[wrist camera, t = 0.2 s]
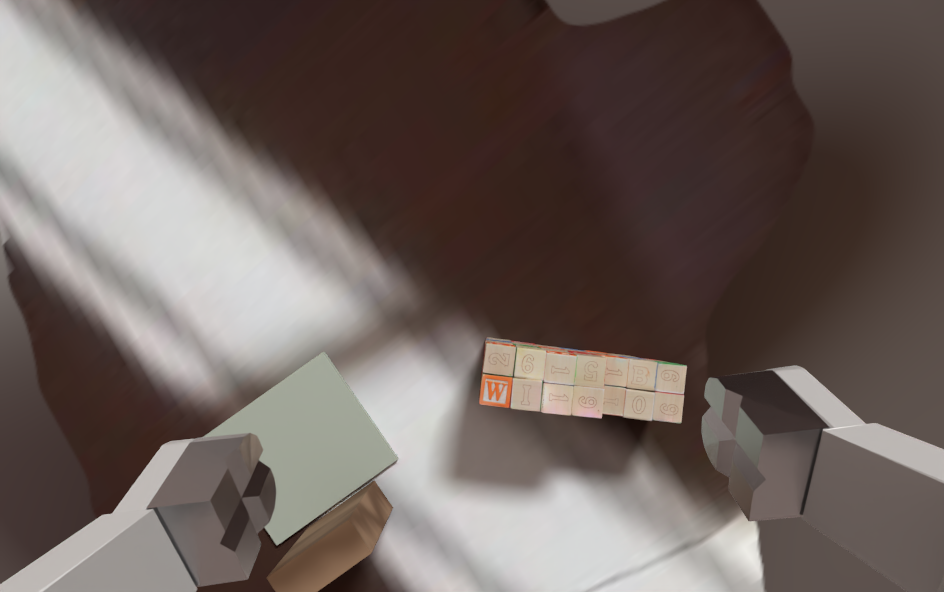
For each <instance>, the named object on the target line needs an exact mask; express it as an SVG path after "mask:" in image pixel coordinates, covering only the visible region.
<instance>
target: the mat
mask: <svg viewBox="0 0 944 592" xmlns="http://www.w3.org/2000/svg"><path fill="white" fill-rule="evenodd" d="M244 433H252V434H254V435H257V436H258V439H259V441H260V443H261V445H262V448H263V452H262V454H261V456H260V458H259V461H261V462H262V463H264V464H265V465H267V466H268V467H269V468H271V471H272V473H273V476H274V479H275V485H276V501H275V509H274V512H273V514H272V517H271V520H270V522H269V523H268V524H267V525H266V526H265V529H266V530H267V532H268V533H269V535H270V536H271V538H272V539H273V541H274V542H275V544H276V545H278V544H280V543H281V542H283V541H284V540H286V539H287V538H288V537H290V536H291V535H293V534H294V533H295V532H297V531H298V530H300V529H301V528H302V527H304V526H305V525H307V524H308V523H309V522H311V521H312V520H314V519H315V518H316V517H318V516H319V515H321V514H322V513H323V512H325V511H326V510H328V509H329V508H330V507H332V506H333V505H335V504H336V503H337V502H339V501H340V500H342V499H343V498H344V497H346V496H347V495H349V494H350V493H351V492H353V491H354V490H356V489H357V488H359V487H360V486H361V485H363V484H364V483H366V482H367V481H368V480H370V479H371V478H373V477H374V476H375V475H377V474H378V473H380V472H381V471H382V470H384V469H385V468H387V467H388V466H389V465H391V464H392V463H394V462H395V461H396V460H398V457H397V455H396V454H395V453H394V451H393V450H392V448H391V447H390V445H389V444H388V442H387V441H386V440H385V438H384V437H383V435H382V434H381V432H380V431H379V429H378V428H377V427H376V425H375V424H374V422H373V421H372V419H371V418H370V416H369V415H368V414H367V412H366V411H365V409H364V408H363V406H362V405H361V403H360V402H359V401H358V399H357V398H356V396H355V395H354V393H353V392H352V390H351V389H350V388H349V386H348V385H347V383H346V382H345V380H344V379H343V377H342V376H341V375H340V373H339V372H338V370H337V369H336V367H335V366H334V364H333V363H332V362H331V360H330V359H329V357H328V356H327V354H326V353H325V352H322V353H321V354H319V355H318V356H317V357H315V358H314V359H312V360H311V361H310V362H308V363H307V364H305V365H304V366H302V367H301V368H300V369H298V370H297V371H295V372H294V373H293V374H291V375H290V376H288V377H287V378H286V379H284V380H283V381H281V382H280V383H279V384H277V385H276V386H274V387H273V388H272V389H270V390H269V391H267V392H266V393H265V394H263V395H262V396H260V397H259V398H257V399H256V400H255V401H253V402H252V403H250V404H249V405H248V406H246V407H245V408H243V409H242V410H241V411H239V412H238V413H236V414H235V415H234V416H232V417H231V418H229V419H228V420H227V421H225V422H224V423H222V424H221V425H220V426H218V427H217V428H215V429H214V430H212V431H211V432H210V433H208V434H207V435H205V436H204V437H213V436H224V435H234V434H244Z"/></svg>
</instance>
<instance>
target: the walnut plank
mask: <svg viewBox="0 0 944 592" xmlns="http://www.w3.org/2000/svg"><path fill="white" fill-rule="evenodd" d="M392 508H393V507H392V505H391V504H390V503H389V501H388V500H387V498H386V497H385V495H384V494H383V492H382V491H381V489H380V488H379V487H378V485H377V484H376V482H375V481H373V482H371V483H370V484H369V485H367V486H366V487H364V488H363V489H362V490H360V491H359V492H357V493H356V494H355V495H353V496H352V497H350V498H349V499H348V500H346V501H345V502H343V503H342V504H340V505H339V506H338V507H336V508H335V509H333V510H332V511H331V512H329V513H328V514H326V515H325V516H324V517H322V518H321V519H319V520H318V521H317V522H315V523H314V524H312V525H311V526H310V527H308V528H307V529H306V531H305V532H304V533H303V534H302V535H301V537H300V538H299V539H298V540H297V542H296V543H295V544H294V545H293V546H292V548H291V549H290V550H289V551H288V552H287V554H286V555H285V556H284V557H283V558H282V560H281V561H280V562H279V563H278V565H277V566H276V567H275V568H274V569H273V571H272V572H271V573H270V574H269V575H268V577H267V579H268V581H269V582H270V584H271V585H272V587H273V588H274V590H275V591H276V592H318V591H319V590H320V589H322V588H323V587H325V586H326V585H327V584H329V583H330V582H332V581H333V580H334V579H336V578H337V577H339V576H340V575H341V574H343V573H344V572H346V571H347V570H348V569H350V568H351V567H353V566H354V565H356V564H357V563H358V562H360V561H361V560H363V559H364V558H365V557H367V556H368V555H370V554H371V553H372V551H373V549H374V547H375V545H376V543H377V540H378V538H379V536H380V534H381V532H382V530H383V528H384V526H385V523H386V521H387V519H388V517H389V515H390V513H391V511H392Z"/></svg>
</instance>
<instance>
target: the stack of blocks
mask: <svg viewBox="0 0 944 592" xmlns="http://www.w3.org/2000/svg"><path fill="white" fill-rule="evenodd" d="M686 368H687V366H685V365H681V364H677V363H669V362H665V361H659V360H653V359H644V358H637V357H633V356H626V355H618V354H609V353H603V352H595V351H587V350H584V351H582V350H575V349H567V348H558V347H551V346H543V345H535V344H531V343H524V342H517V341H510V340H504V339H496V338H489V337H487V338H486V340H485V349H484V358H483V366H482V374H481V384H480V394H479V404H480V405H487V406H496V407H504V408H511V409H517V410H527V411H537V412H539V411H541V412H542V413H548V414H558V415H573V416H581V417H591V418H602V414H607V415H615V416H622V417H624V418H631V419H639V420H647V421H652V420H657V421H665V422H673V423H681V420H682V410H683V402H684V388H685V377H686Z"/></svg>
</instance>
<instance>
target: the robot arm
mask: <svg viewBox="0 0 944 592" xmlns="http://www.w3.org/2000/svg"><path fill="white" fill-rule="evenodd" d="M704 397H705V398H706V400H707V401H708V402H709V404H710V405H711V407H710V409H709V410H708V411H707V412H706V413H705V414H704V415H703V417H702V437H703V442H704V447H705V450H706V452H707V454H708V457H709V459H710V461H711V462H712V464H713V466H714V467H715V469H716V470H718V471H719V472H721V473H723V474H725V475H726V476H728V477H730V481H729V489H728V490H729V491H730V493H731V494H732V496H733V497H734V499H735V500H736V502H737V504H738V505H739V507H740V508H741V510H742V511H743V513H744V514H745V516H746V518H747V519H748V521H759V520H770V519H781V518H792V517H802V520H804V521H805V522H807V523H808V524H810V525H811V526H813V527H814V528H815V529H817V530H818V531H820V532H821V533H823V534H824V535H826V536H827V537H828V538H830V539H831V540H833V541H834V542H836V543H837V544H839V545H840V546H842V547H843V548H844V549H846V550H847V551H849V552H850V553H852V554H853V555H854V556H856V557H857V558H859V559H860V560H862V561H863V562H865V563H866V564H868V565H869V566H870V567H872V568H873V569H875V570H876V571H878V572H879V573H881V574H882V575H883V576H885V577H886V578H888V579H889V580H891V581H892V582H894V583H895V584H897V585H898V586H899V587H901V588H902V589H904V590H905V591H907V592H944V449H941V448H939V447H936V446H934V445H931V444H929V443H926V442H923V441H921V440H918V439H916V438H913V437H910V436H908V435H905V434H903V433H900V432H898V431H895V430H892V429H890V428H887V427H885V426H882V425H879V424H877V423H873V424H865V423H864V422H863V421H862V420H861V419H860V418H859V417H858V416H857V415H855V414H854V413H853V412H852V411H851V410H850V409H849V408H848V407H846V406H845V405H844V404H843V403H842V402H841V401H840V400H839V399H838V398H836V397H835V396H834V395H833V394H832V393H831V392H829V390H827V389H826V388H825V387H824V386H823V385H822V384H821V383H820V382H818V381H817V380H816V379H815V378H814V377H813V376H812V375H811V374H810V373H808V372H807V371H806V370H805V369H804V368H802V367H799V366H796V365H795V366H788V367H781V368H774V369H767V370H766V371H760V372H751V373H743V374H735V375H727V376H719V377H712V378H709V379H708V381H707V383H706V387H705V396H704ZM262 452H263V448H262V445H261V443H260V441H259V439H258V436H257V435H254V434H252V433H244V434H234V435H224V436H213V437H203V438H197V439H186V440H177V441H170V442H168V443H166V444H164V445H162V446H161V448H160V449H159V450H158V452H157V453H156V454H155V456H154V457H153V458H152V460H151V461H150V463H149V464H148V465H147V467H146V468H145V469H144V471H143V472H142V473H141V475H140V476H139V478H138V479H137V480H136V482H135V483H134V484H133V486H132V487H131V488H130V490H129V491H128V492H127V494H126V495H125V497H124V498H123V499H122V501H121V502H120V503H119V505H118V506H117V507H116V509H115V510H114V512H113V513H112V514H106V515H102V516H100V517H99V518H97V519H96V520H94V521H93V522H91V523H90V524H89V525H87V526H86V527H84V528H83V529H81V530H80V531H79V532H77V533H75V534H74V535H72V536H71V537H69V538H68V539H67V540H65V541H64V542H62V543H61V544H59V545H58V546H56V547H55V548H53V549H52V550H50V551H49V552H47V553H46V554H45V555H43V556H42V557H40V558H39V559H37V560H36V561H34V562H33V563H31V564H30V565H28V566H27V567H25V568H24V569H22V570H21V571H19V572H18V573H16V574H15V575H13V576H12V577H11V578H9V579H8V580H6V581H5V582H3V583H2V584H0V592H196V591H197V587H199V586H206V585H213V584H220V583H226V582H233V581H240V580H247V579H248V577H249V575H250V572H251V570H252V567H253V564H254V562H255V559H256V557H257V554H258V552H259V549H260V546H261V542H260V540H259V537H258V535H257V533H258V532H260V531H261V530H262V529H263V528H264V527H265V526H266V525H267V524H268V523H269V522H270V520H271V517H272V514H273V512H274V509H275V501H276V485H275V479H274V476H273V473H272V471H271V468H269V467H268V466H267V465H265V464H264V463H262V462H261V461H259V458H260V456H261V454H262Z"/></svg>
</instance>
